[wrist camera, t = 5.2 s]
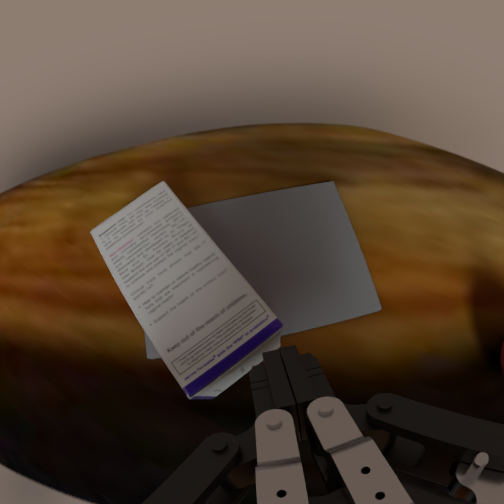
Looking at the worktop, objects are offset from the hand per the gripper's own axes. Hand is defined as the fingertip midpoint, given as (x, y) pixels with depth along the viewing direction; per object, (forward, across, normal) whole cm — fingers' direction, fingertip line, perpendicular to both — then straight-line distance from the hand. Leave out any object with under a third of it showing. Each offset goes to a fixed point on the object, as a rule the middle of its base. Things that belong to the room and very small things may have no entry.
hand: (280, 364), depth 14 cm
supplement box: (+2, +2, +2) cm, 4 cm away
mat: (+10, 0, -1) cm, 10 cm away
